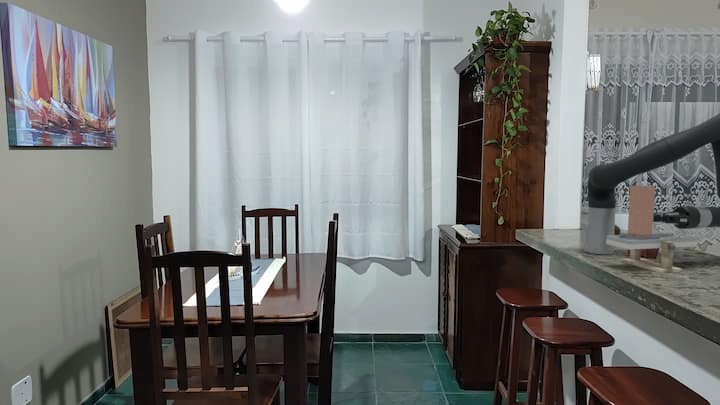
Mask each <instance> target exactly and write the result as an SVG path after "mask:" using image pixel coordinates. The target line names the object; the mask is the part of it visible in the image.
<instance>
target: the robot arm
mask: <svg viewBox="0 0 720 405" xmlns="http://www.w3.org/2000/svg"><path fill="white" fill-rule="evenodd" d="M708 144H709V145H711V149H712V154H713V159H714V165H715V166H714V168H715V176H716V177H715V180H716V194H717V197H718V199H720V113H718V114H716V115H715V116H713V117H711V118H709V119H708V120H705V121H703V122H702V123H700V124H698V125H696V126H692V127H691V128H688V129H685V130H682V131H679V132H676V133H673V134H670V135H667V136H666V137H663V138H661V139H657V140H655V141H653V142H652V143H649V144H647V145H644V146H643V147H641V148H640V149H638V150H636V151H635V152H633V153H632V154H631V155H628V156H626V157H624V158H622V159H620V160H619V159H618V160H617V161H613V162H610V163H607V164H598V165H595V166H593V167H592V168H591V169H590V171H589V173H588V177H587V201H588V204H587V205H588V207H587V225H586V226H585V227H584V241H583V242H584V244H583V251H584V252H585V253H588V254H589V253H590V254H594V255H613V254H614V249H615V248H614V247H615V246H613V245H609V244H606V237H607V236H610V235H614V227H615V225H616V224H615V222H616V205H617V201H616V196H615V187H616V186H618V185H619V184H621V183H624V182H626V181H628V180H630V179H632V178H633V177H635V176H638V175H642V174H644V173H647V172H650V171H654V170H656V169H658V168H659V169H660V168H662V167H665V166H667V165H669V164H672V163H674V162H676V161H678V160H680V159H683V158H684V157H686V156H688V155H690V154H692V153H693V152H695V151H697V150H699V149H701V148H702V147H704V146H707V145H708ZM653 223H663V224H666V225H667V224H668V225H673V226H675V227H676V229H677V228H678V229H681V230H688V229H690V230H691V229H701V228H715V227H716V228H717V227H718V228H720V206H718V207H716V206H701V205H691V206H690V205H688V206H687V205H684V206H678V207H676V208H674V209H673V211H672V210H671V211H670V210H669V211H665V212H664V211H662V212H658V211H655V212H654V216H653Z"/></svg>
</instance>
